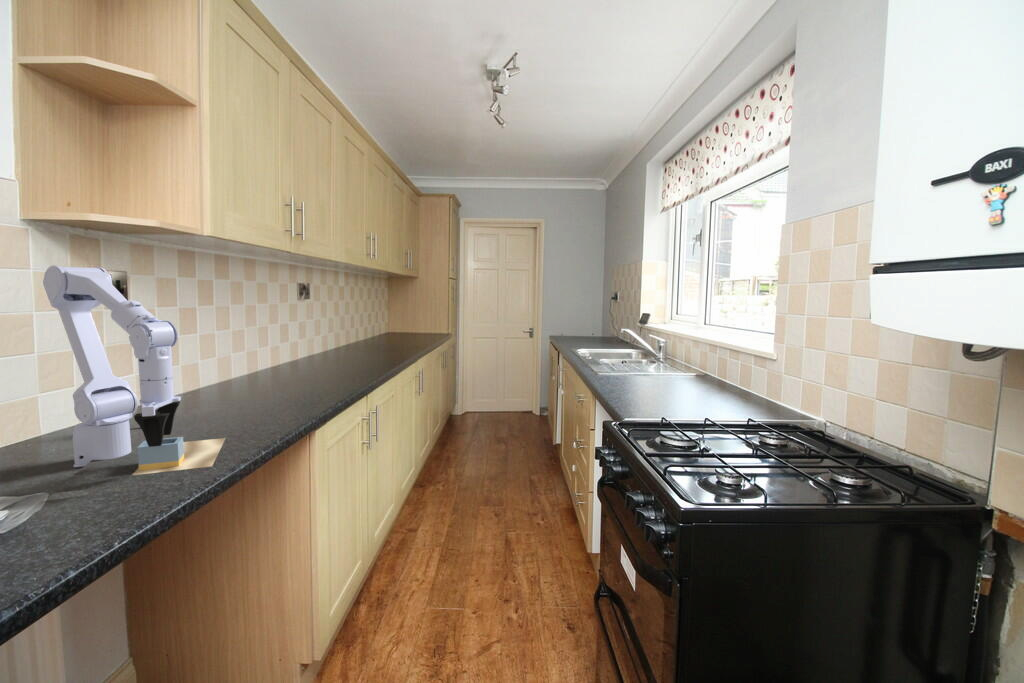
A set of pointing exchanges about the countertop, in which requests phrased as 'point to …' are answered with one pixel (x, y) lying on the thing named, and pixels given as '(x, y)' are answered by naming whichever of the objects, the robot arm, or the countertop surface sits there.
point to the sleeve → (161, 454)
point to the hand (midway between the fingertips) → (160, 440)
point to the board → (193, 456)
